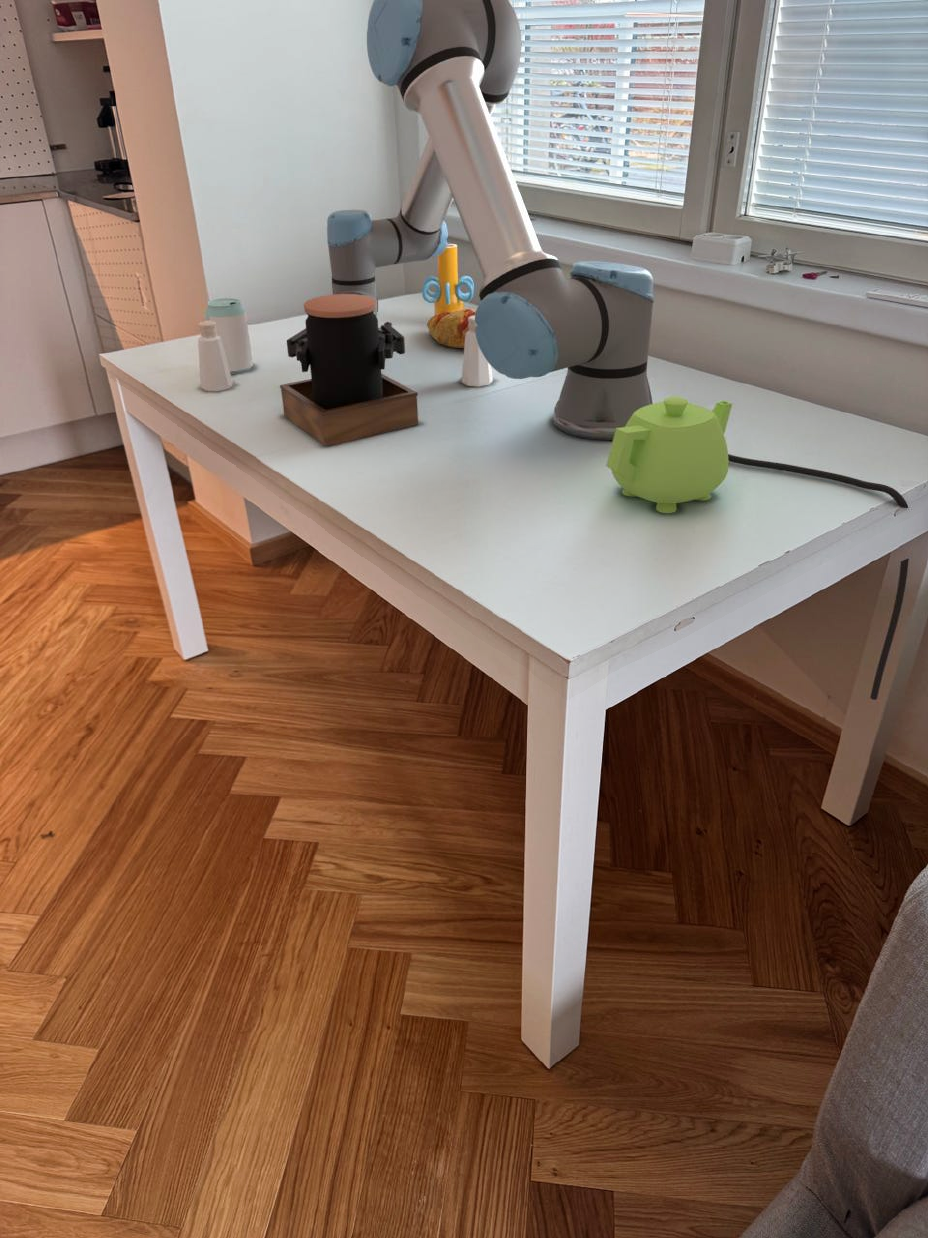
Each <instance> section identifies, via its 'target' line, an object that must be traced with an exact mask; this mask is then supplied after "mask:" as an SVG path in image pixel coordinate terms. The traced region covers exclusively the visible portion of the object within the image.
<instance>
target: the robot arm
mask: <svg viewBox="0 0 928 1238" xmlns="http://www.w3.org/2000/svg"><path fill="white" fill-rule="evenodd" d="M369 10H370V11H369V15H368V19H367V30H366V51H367V56H368V62H369V65H370V68H371V71H372V74H373V75H374V77H375V78H376V79H377V81H379V82H380V83H382V84H383V85H387V86H388V87H395V86H397V88H398V91H399V94H400V95H401V99H402V101H403V103H404V105H405V107H406V109H407V110H408V111H410V112H411V113H414V114H416V115H419V116H421V118H422V121H423V123H424V126H425V129H426V131H427V134H428V138H427V141H426V143H425V146H424V148H423V151H422V154H421V156H420V158H419V161H418V163H417V166H416V169H415V171H414V175H413V177H412V180H411V182H410V185H409V186H408V187H409V188H408V190H407V192H406V195H405V198H404V199H403V203H402V205H401V207H400V209H399V212H398V214H397V216H396V217H395V216H394V217H388V218H383V219H372V216H371V215H372V214H371V213H370V212H369V211H367V210H364V209H343V210H341V209H340V210H336V211H333V212H331V213H330V214H329V215H328V216H327V220H326V224H327V225H326V238H327V240H326V241H327V247H328V254H329V263H330V272H331V290H332V295H336V294H357V295H365V296H369V297H372V298H374V299H375V300H376V309H375V310H374V314H375V315H376V316H378V314H377V313H378V312H379V298H378V296H377V287H376V269H377V268H381V267H387V266H393V265H400V264H407V263H412V262H413V263H414V262H422V261H428V260H429V259H432V258H436V257H438V256H439V255H441V254H442V253H443V252H444V251H445V249H446V246H447V244H448V241H447V239H448V237H449V231H448V227H447V224H446V222H445V219H446V217H447V214H448V212H449V209H450V207H451V206H452V203H453V202H454V204H455V207H456V209H457V212H458V214H459V218H460V220H461V222H462V224H463V228H464V230H465V233H466V235H467V238H468V241H469V244H470V246H471V248H472V250H473V253H474V256H475V258H476V262H477V264H478V266H479V268H480V269H479V270H480V272H481V275H482V277H483V279H482V280H483V281H482V282H481V285H480V288H479V290H478V293H477V294H478V298H479V299H480V302H479V304H478V305H477V308H476V310H475V311H476V313H475V323H476V324H477V327H475V334H476V339H477V342H478V345H479V347H480V349H481V352H482V353H483V355H484V357H485V358H486V360H487V361H488V363H489V364H490V365H491V368H493V369H494V370H495V371H496V372H497V373H499V374H501V375H504V376H505V377H507V378H509V379H513V380H524V379H529V378H541V377H544V376H546V375H549V373H553V372H557V371H561V370H564V369H567V372H566V376H565V379H564V381H563V383H562V387H561V390H560V394H559V397H558V400H557V401H556V403H555V406H554V409H553V423H554V426H555V427H556V428H558V429H559V430H560V431H562V432H564V433H567V434H568V435H571V436H574V437H578V438H583V439H590V440H603V441H606V440H607V441H609V440H610V441H611V440H612V441H613V438H614V435H615V431H616V428H621V427H625V426H626V424H627V422H628V421H629V419H630V418H631V416H632V415H633V413H634V412H635V411H637V410H638V409H640V408H642V407H644V406H647V405H650V404H654V403H653V397H652V392H651V387H650V383H649V378H648V373H647V370H648V358H649V350H650V349H649V348H650V338H651V327H652V318H653V317H652V316H653V307H654V302H655V298H654V277H653V275H652V274H651V271H649V270H647V269H646V268H643V267H640V266H636V265H631V264H626V263H625V264H624V263H619V262H610V261H597V260H596V261H595V260H586V261H585V260H583V261H581V260H580V261H576V262H574V263H573V264H572V266H571V270H570V271H569V275H570V278H565V275H564V272H563V270H562V269H563V268H562V267H561V264H560V262H559V259H558V258H557V257H556V256H554V255H551V254H548V253H547V252H544V251H543V249H542V247H541V245H540V243H539V239H538V237H537V233H536V231H535V229H534V227H533V224H532V221H531V219H530V216H529V213H528V210H527V208H526V206H525V203H524V200H523V198H522V195H521V192H520V190H519V187H518V184H517V182H516V179H515V177H514V174H513V171H512V169H511V167H510V163H509V160H508V159H507V156H506V153H505V150H504V148H503V145H502V143H501V140H500V138H499V135H498V133H497V132H498V131H497V130H496V127H495V124H494V121H493V119H492V114H493V112H494V110H495V108H496V105H499V104H502V103H503V102H505V101H506V99H507V98H508V96H509V93H510V91H511V89H512V88H513V85H514V83H515V80H516V78H517V75H518V71H519V67H520V62H521V55H522V47H523V46H522V33H521V31H522V30H521V26H520V22H519V19H518V16H517V13H516V11H515V8H514V7H513V5H512V4H511V2H510V0H373V2H372V5H371V8H370V9H369ZM378 331H379V348H378V358H379V370H381V371H382V370H385V366H386V359H393V357H394V353H396V354H398V355H404V354H406V344H405V343H406V342H405V336H404V335H403V334H402V333H400V332H399V331H398V330H397V329H396V328H394V327H393V323H392V322H390V321H386V322H384V323H383V324H381V325H380V327H378ZM286 347H287V356H288V357H289V358H295V357H296V361H297V362H300V365H301V372H302V373H307V372H308V371H309V369H310V360H309V351H308V342H307V332H306V327H305V328H303V329H302V330H301V331H299V332H297V333H295V334H294V335H293V336H291V337H290V338H289V337H288V339H286ZM728 462H730V463H735V464H740V465H744V466H749V467H756V468H763V469H770V470H777V471H784V472H789V473H793V474H799V475H805V476H810V477H816V478H819V479H820V478H821V479H826V480H829V481H835V482H839V483H843V484H846V485H850V486H853V487H857V488H861V489H865V490H870V491H876V492H881V493H885V494H887V495H889V496H890V497H891V498H892V499H893V501H895V502H896V504H897V505H898V507H900V508H903V509H909V505H908V503H907V501H906V499H905V498H904V497H903V496H902V494H901V493H899V491H898V490H896V489H895V488H893V487H892V486H889V485H886V484H882V483H878V482H877V483H876V482H871V481H866V480H861V479H859V478H855V477H852V476H847V475H844V474H838V473H834V472H830V471H824V470H819V469H815V468H809V467H804V466H798V465H793V464H787V463H781V462H775V461H768V460H767V461H766V460H760V459H753V458H748V457H743V456H737V455H734V454H729V453H728ZM909 561H910V559H909V558H906V559H904V560H901V561H900V566H899V574H898V575H899V577H898V583H897V590H896V594H895V599H894V600H895V601H894V605H893V609H892V613H891V617H890V621H889V622H890V623H889V625H888V628H887V633H886V635H885V639H884V642H883V646H882V649H881V654H880V656H879V661H878V664H877V668H876V671H875V674H874V679H873V684H872V689H871V691H870V692H871V693H870V697H869V698H870V699H871V700H873V701H876V700H878V697H879V692H880V687H881V683H882V680H883V676H884V672H885V668H886V664H887V662H888V661H887V660H888V657H889V653H890V651H891V647H892V643H893V640H894V638H895V637H894V636H895V633H896V630H897V627H898V622H899V620H900V619H899V618H900V615H901V611H902V605H903V601H904V597H905V591H906V590H905V589H906V585H907V578H908V572H909V571H908V569H909Z"/></svg>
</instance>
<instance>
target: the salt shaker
mask: <svg viewBox="0 0 928 1238" xmlns="http://www.w3.org/2000/svg"><path fill="white" fill-rule="evenodd" d="M215 327H216V323H215V322H214V321H206V320H202V321H200V322H199V323H198V328H199V332H200V337H199V338H197V345H198V346H197V347H198V360H199V377H200V388H201V389H202V390H204V391H206V392H215V393H217V392H222V391H227V390H230V389H231V388H232V387H233V386H234V382H233V378H232V374H230V371H229V367H228V363H227V359H226V355H225V351H224V348H223V344H222V340H221V337H219V336H217V333H216V328H215Z"/></svg>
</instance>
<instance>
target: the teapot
mask: <svg viewBox="0 0 928 1238" xmlns="http://www.w3.org/2000/svg"><path fill="white" fill-rule="evenodd" d="M732 406H733V402H730V401H727V400H721V401H716V403H715V406H714V407H713V409H712V410H710V409H708V408H705V407H704V406H700V405H697V404H694V403H692V402H689V400H688V399H686V398H684V397H680V396H669V397H665V398H664V399H663V401H661V402H655V403H653V404H650V405H647V406H644V407H642V408H640V409H638V410H637V411H635V412H634V413H633V415H632V416H631V418H630V419H629V421H628V422H627V424H626V426H625V427H621V428H616V431H615V435H614V438H613V440H612V443H611V446H610V450H609V454H608V456H607V457H608V458H607V461H606V465H605V467H607V468H608V469H610V470H611V473H612V476H613V478H614V479H615V481H616V482H617V484H618V485H619V486H620V487H621V488H622V489H623V490H622V494H623V495H624V496H627V497H638V498H640V499H644V500H647V501H650V502H652V503H653V502H654V503H656V506H655V510H656V511H657V512H658V513H662V514H672V513H675V512H676V511H677V504H678V503H685V502H691V501H709V500H710V499H711V498H712V496H711V493H713V492H714V490H716V489H717V488H718V487H719V486H720V485H721V484H722V483H723V481H724V480H725V479H726V477H727V475H728V472H729V461H728V454H729V450H728V444H727V441H726V437H725V433H726V428H727V425H728V421H729V417H730V414H731V410H732Z"/></svg>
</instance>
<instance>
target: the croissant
mask: <svg viewBox="0 0 928 1238" xmlns="http://www.w3.org/2000/svg"><path fill="white" fill-rule="evenodd" d="M475 313H476V310H475V309H472V308H470V307H467V308H463V309H461V310H456V311H454V312H443V313H440V314H438V315H435V314H434V315H433V316H432V317H430V318H429V320H428V322H427V324H426V325H427V329H428V332H429V334H430V336H431V337H432V339H434V340H435V341H436V343H437V344H441V345H444V346H447V347H449V348H455V349H458V348H460V349H464V346H465V335H466V333H467V332H468V331H469V322H468V318H469V317H470V316H474V315H475Z"/></svg>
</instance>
